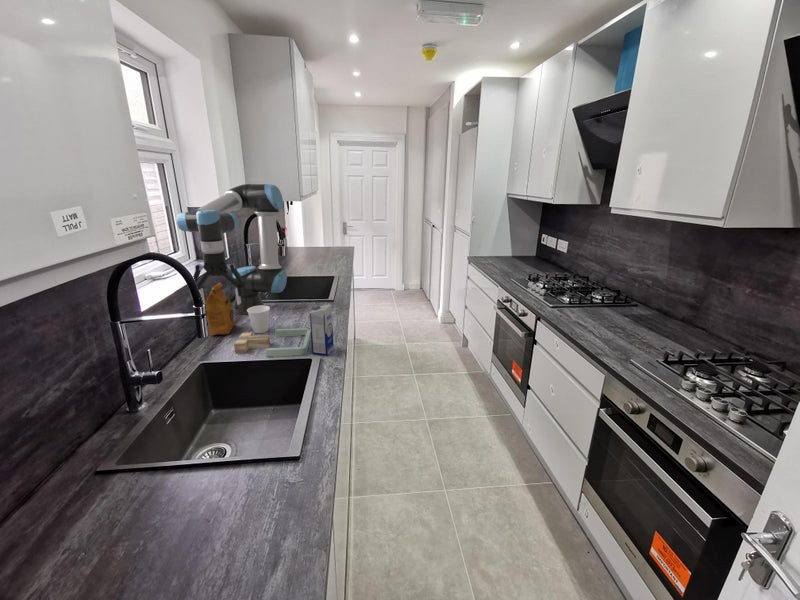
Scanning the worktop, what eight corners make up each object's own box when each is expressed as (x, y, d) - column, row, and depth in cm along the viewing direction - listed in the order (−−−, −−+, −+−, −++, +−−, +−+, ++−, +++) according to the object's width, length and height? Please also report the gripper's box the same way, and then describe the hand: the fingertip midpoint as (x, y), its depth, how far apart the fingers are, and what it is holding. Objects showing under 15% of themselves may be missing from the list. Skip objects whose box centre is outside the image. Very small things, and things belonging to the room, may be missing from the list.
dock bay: (276, 335, 161) (276, 329, 160) (311, 334, 163) (311, 328, 162) (266, 357, 141) (265, 350, 140) (306, 355, 143) (305, 348, 142)
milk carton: (327, 356, 143) (324, 309, 136) (311, 354, 144) (308, 308, 138) (334, 348, 149) (331, 303, 143) (318, 347, 151) (316, 302, 144)
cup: (276, 327, 170) (273, 305, 166) (266, 336, 160) (263, 313, 157) (256, 326, 170) (253, 304, 167) (245, 334, 161) (242, 312, 158)
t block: (243, 340, 155) (242, 332, 154) (272, 339, 157) (271, 331, 156) (235, 353, 144) (234, 344, 143) (266, 352, 146) (265, 343, 144)
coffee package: (238, 325, 171) (232, 281, 164) (229, 336, 160) (222, 289, 153) (216, 326, 170) (209, 281, 163) (206, 336, 159) (198, 289, 152)
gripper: (173, 254, 131) (183, 308, 137) (245, 253, 134) (251, 306, 141) (182, 250, 138) (191, 302, 144) (250, 249, 141) (256, 300, 148)
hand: (221, 304), depth 143 cm, fingers open, 13 cm apart
